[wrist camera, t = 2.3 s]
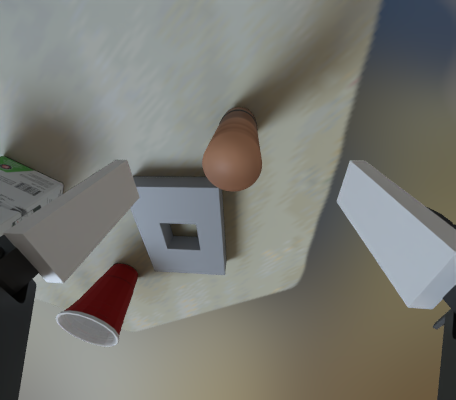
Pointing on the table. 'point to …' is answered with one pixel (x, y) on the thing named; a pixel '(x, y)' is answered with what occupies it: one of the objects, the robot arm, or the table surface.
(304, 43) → the table surface
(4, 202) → the ink box
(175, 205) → the board
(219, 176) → the peg
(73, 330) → the plastic cup
